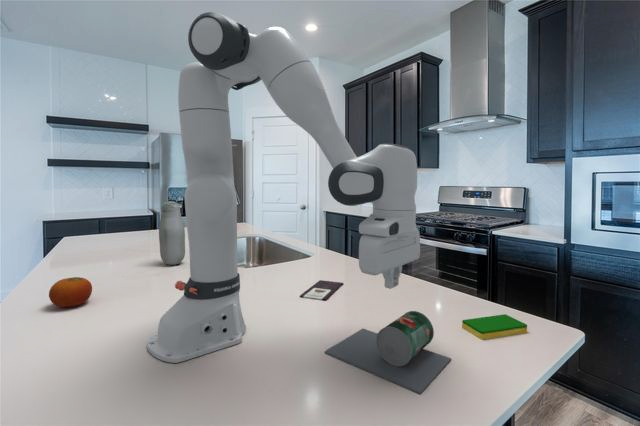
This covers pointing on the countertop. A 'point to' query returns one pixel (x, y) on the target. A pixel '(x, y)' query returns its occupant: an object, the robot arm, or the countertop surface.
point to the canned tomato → (404, 338)
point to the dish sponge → (494, 326)
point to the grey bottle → (171, 234)
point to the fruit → (70, 292)
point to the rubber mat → (367, 357)
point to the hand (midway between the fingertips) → (391, 286)
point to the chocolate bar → (321, 290)
